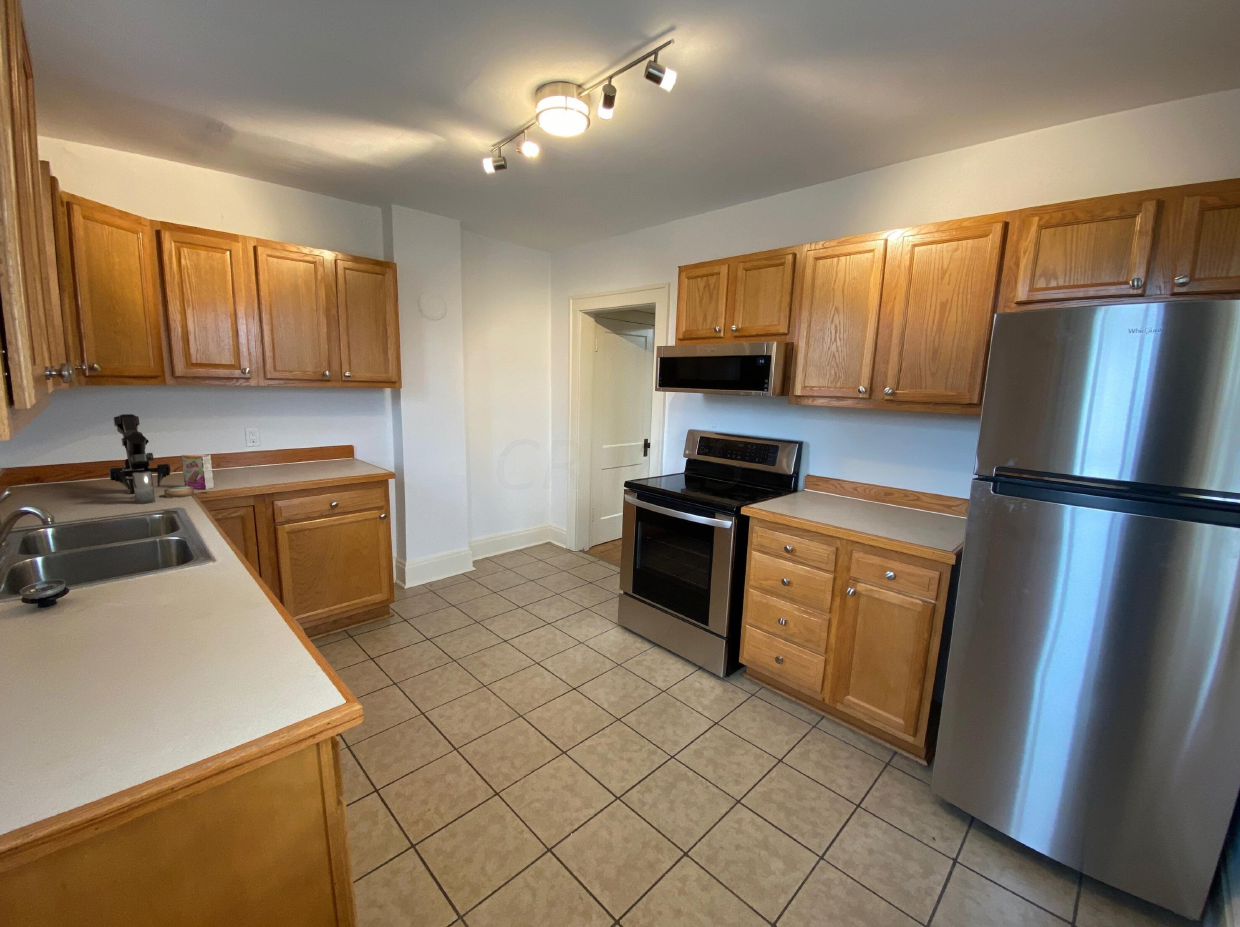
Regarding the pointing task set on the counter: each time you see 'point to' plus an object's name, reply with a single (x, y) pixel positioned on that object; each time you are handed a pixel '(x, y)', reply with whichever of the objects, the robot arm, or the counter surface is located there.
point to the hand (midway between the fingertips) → (144, 487)
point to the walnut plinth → (179, 492)
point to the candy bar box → (197, 471)
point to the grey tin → (143, 487)
